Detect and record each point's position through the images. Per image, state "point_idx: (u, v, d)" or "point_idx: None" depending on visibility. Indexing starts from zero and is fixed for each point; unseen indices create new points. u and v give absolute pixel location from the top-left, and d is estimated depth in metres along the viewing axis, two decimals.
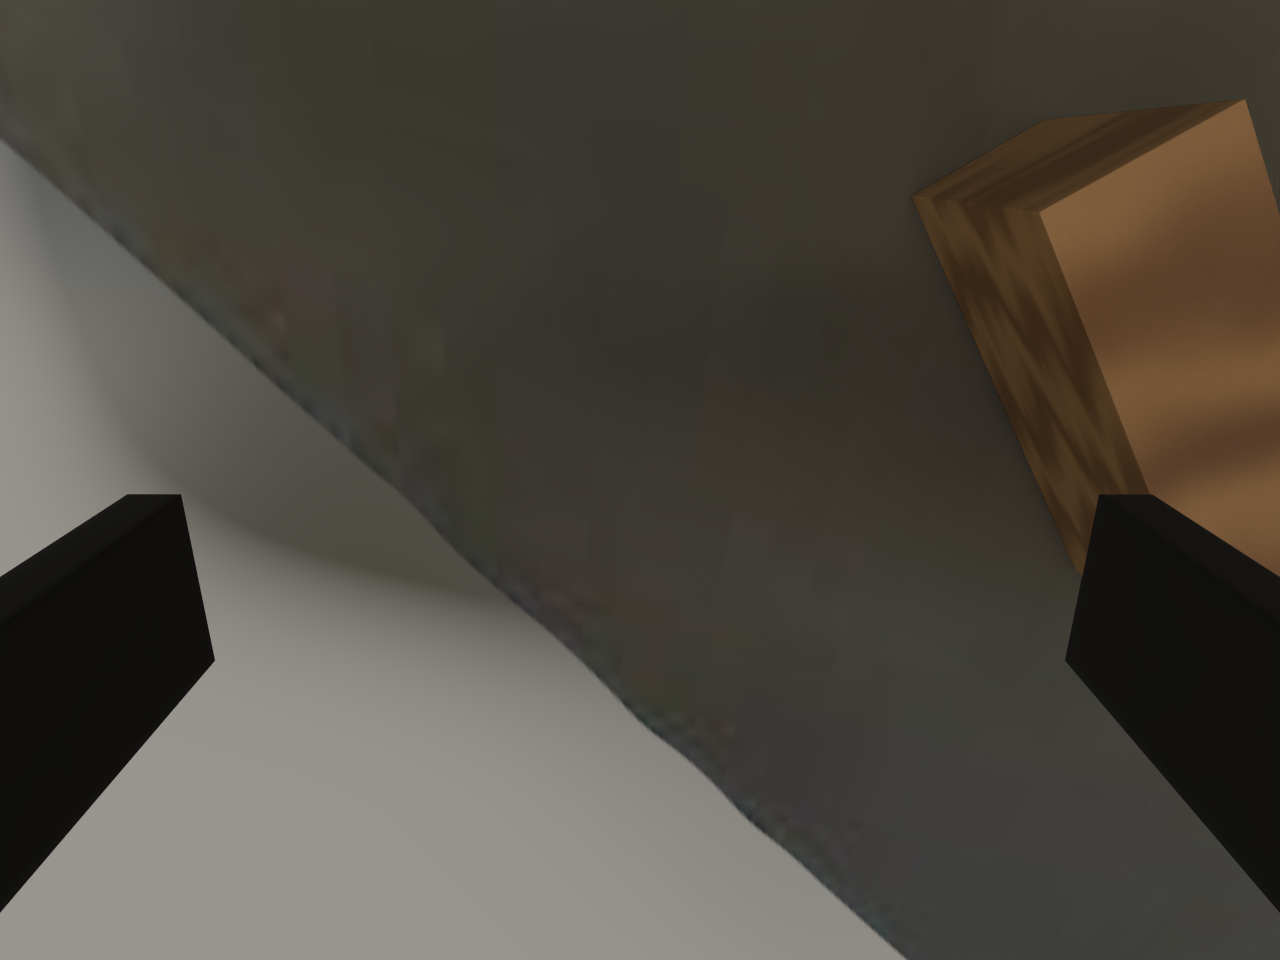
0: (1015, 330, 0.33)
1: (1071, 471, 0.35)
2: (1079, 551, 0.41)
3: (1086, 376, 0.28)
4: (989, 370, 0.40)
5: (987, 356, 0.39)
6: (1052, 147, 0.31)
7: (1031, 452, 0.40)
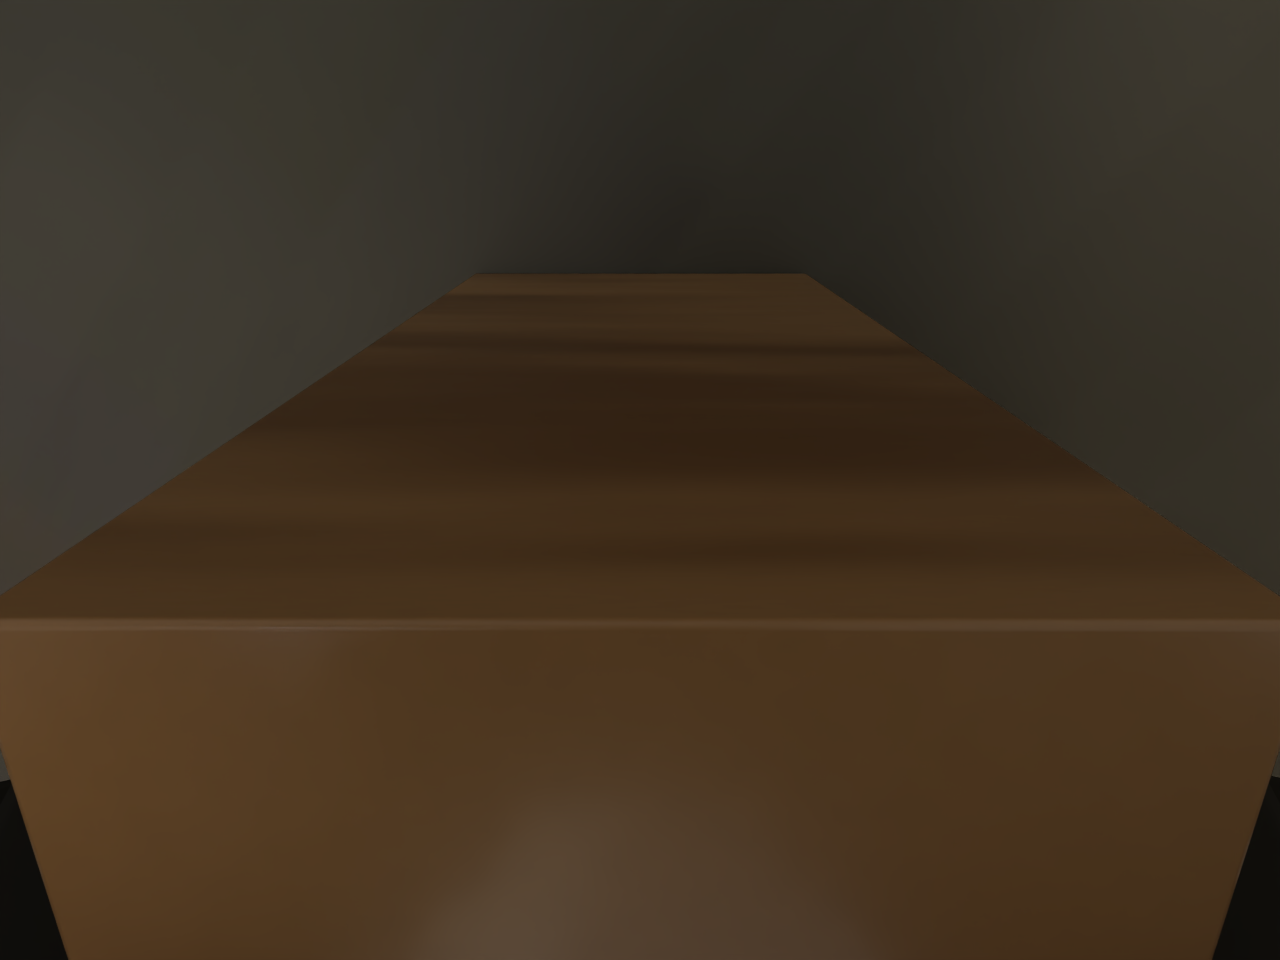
0: None
1: None
2: None
3: None
4: None
5: None
6: (695, 330, 0.10)
7: None
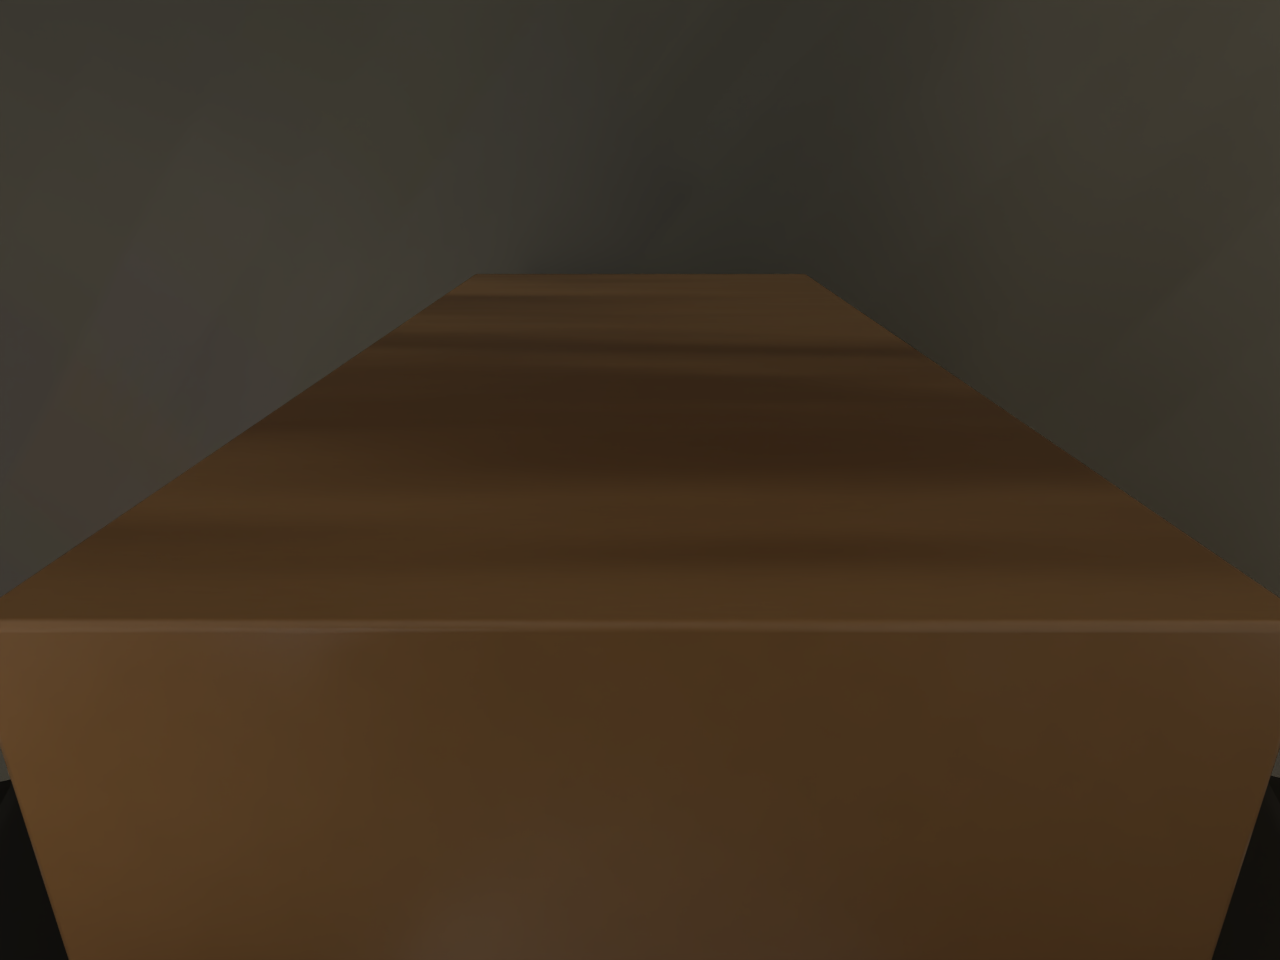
0: None
1: None
2: None
3: None
4: None
5: None
6: (695, 331, 0.10)
7: None
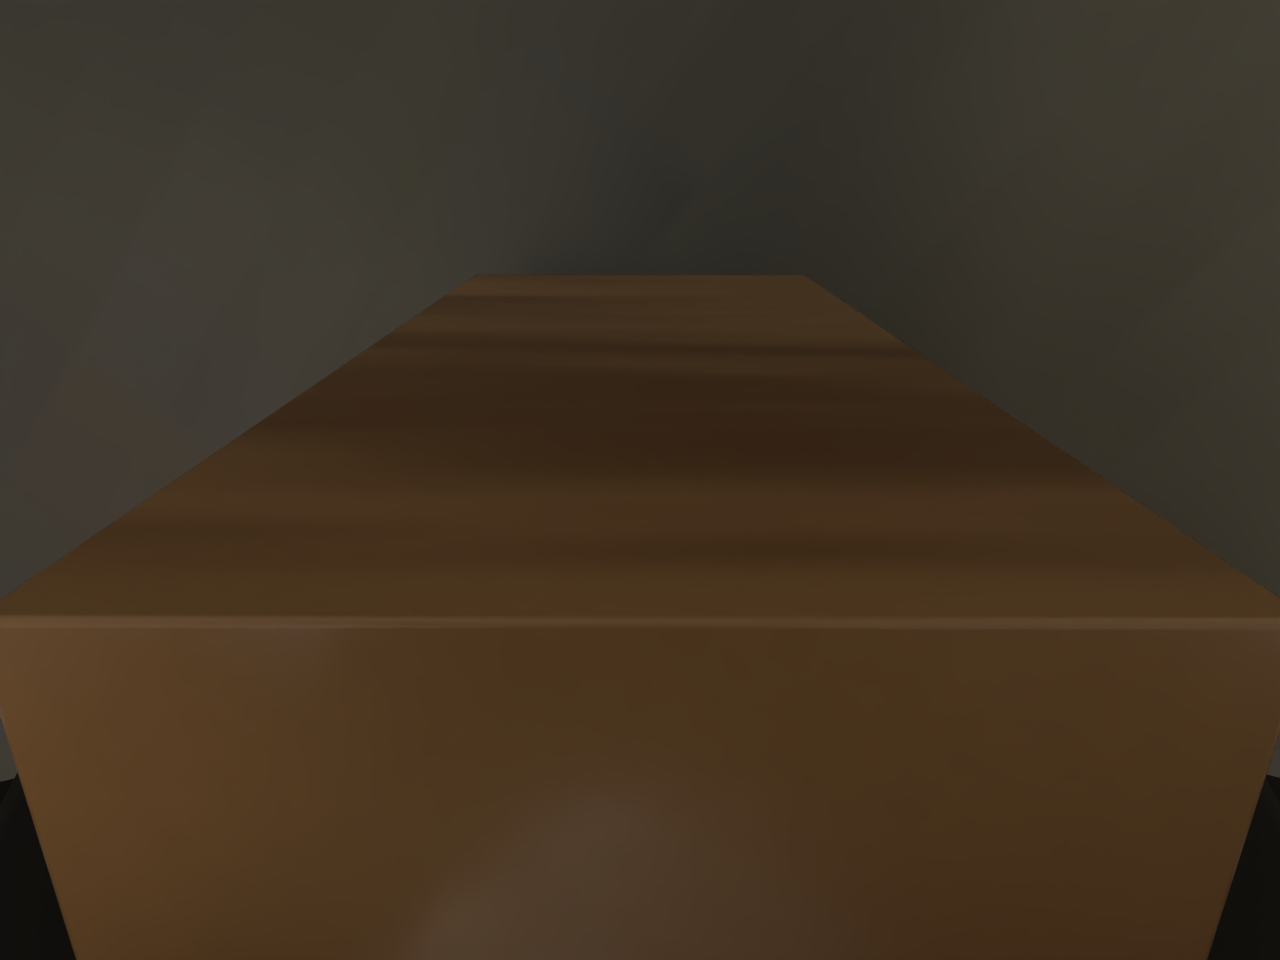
0: None
1: None
2: None
3: None
4: None
5: None
6: (695, 331, 0.10)
7: None
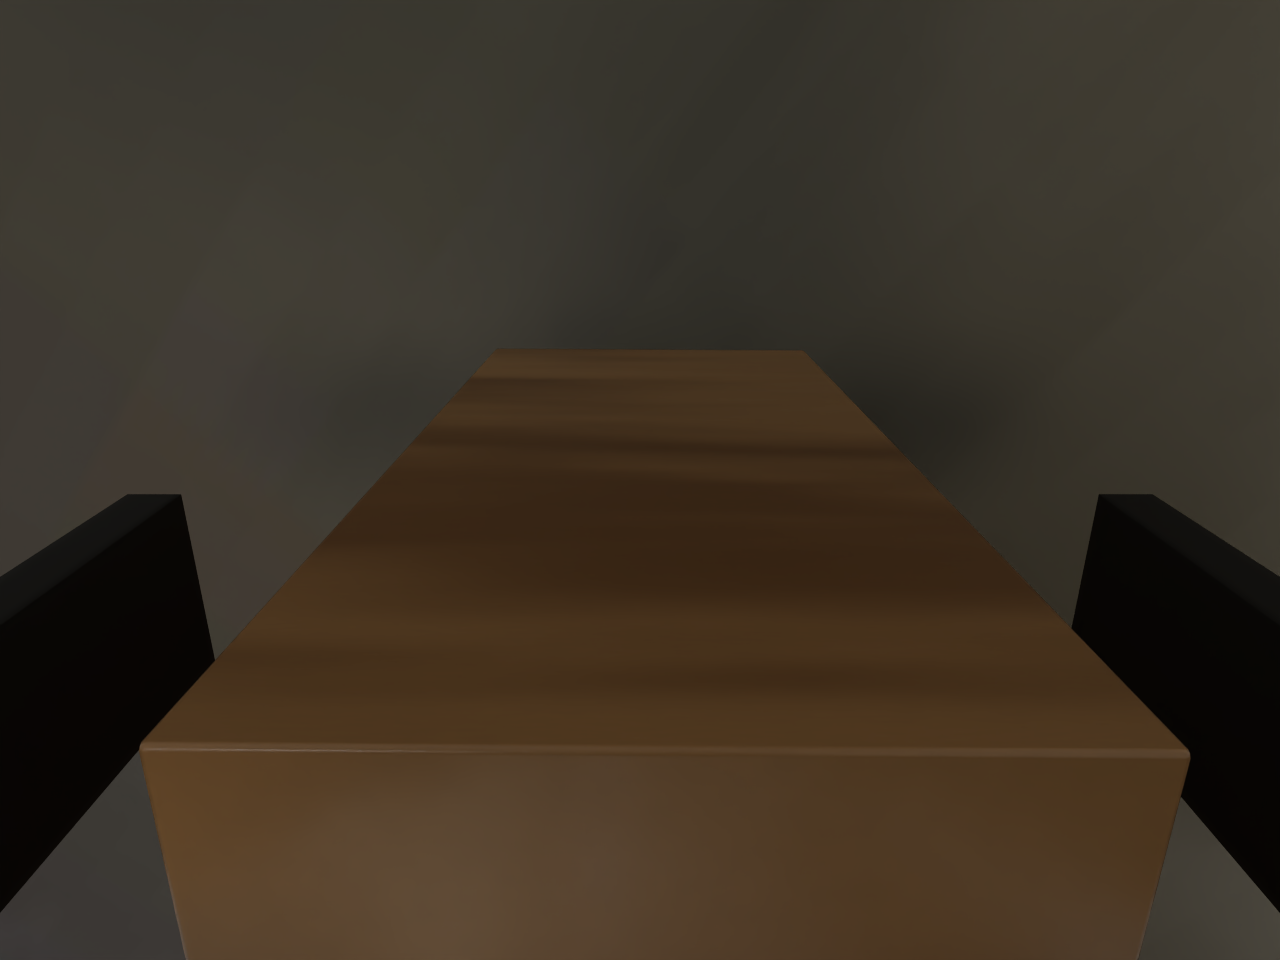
0: None
1: None
2: None
3: None
4: None
5: None
6: (701, 426, 0.12)
7: None
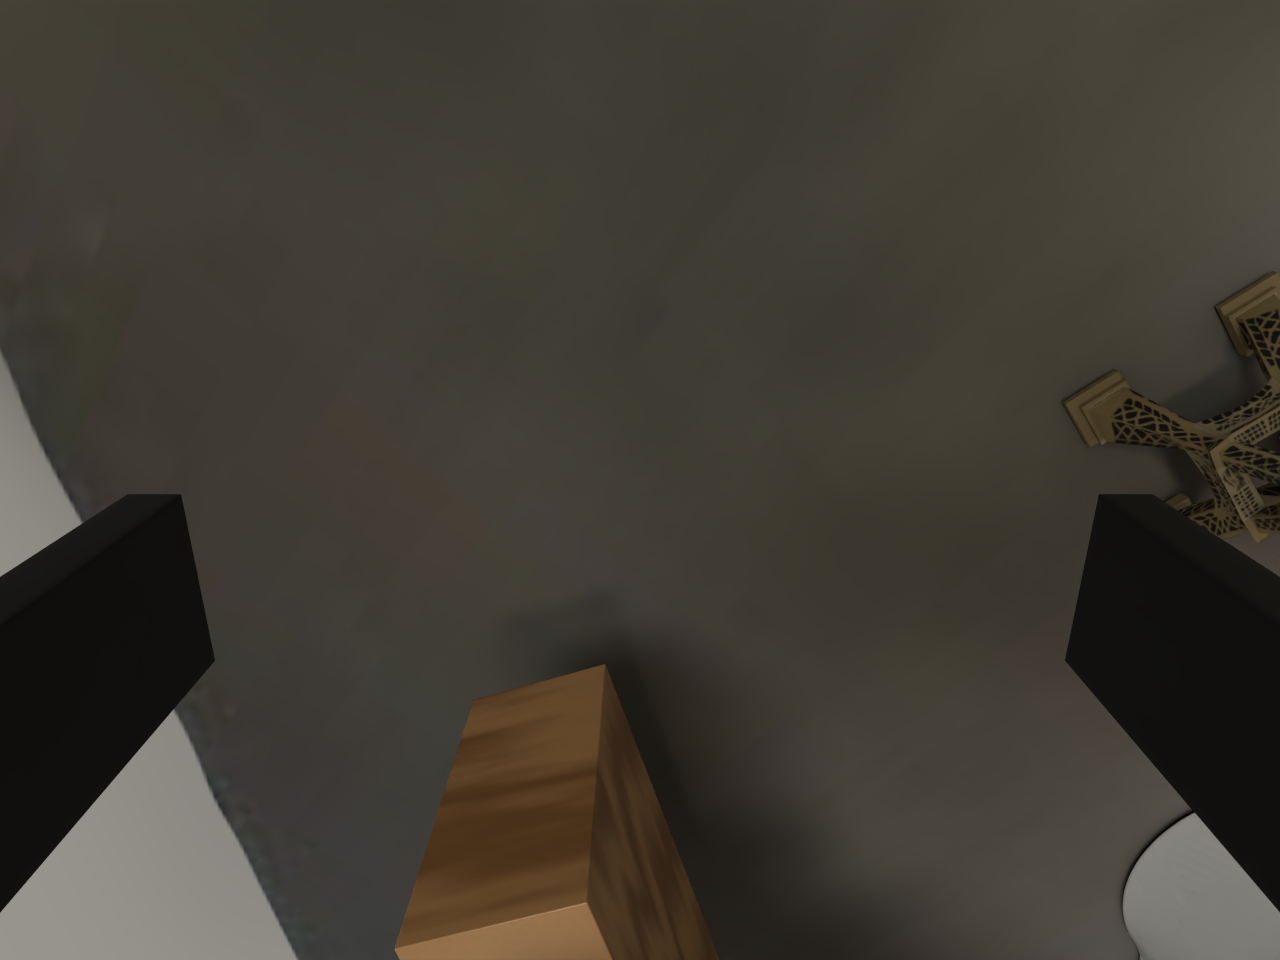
0: None
1: None
2: None
3: None
4: None
5: None
6: (537, 765, 0.32)
7: None
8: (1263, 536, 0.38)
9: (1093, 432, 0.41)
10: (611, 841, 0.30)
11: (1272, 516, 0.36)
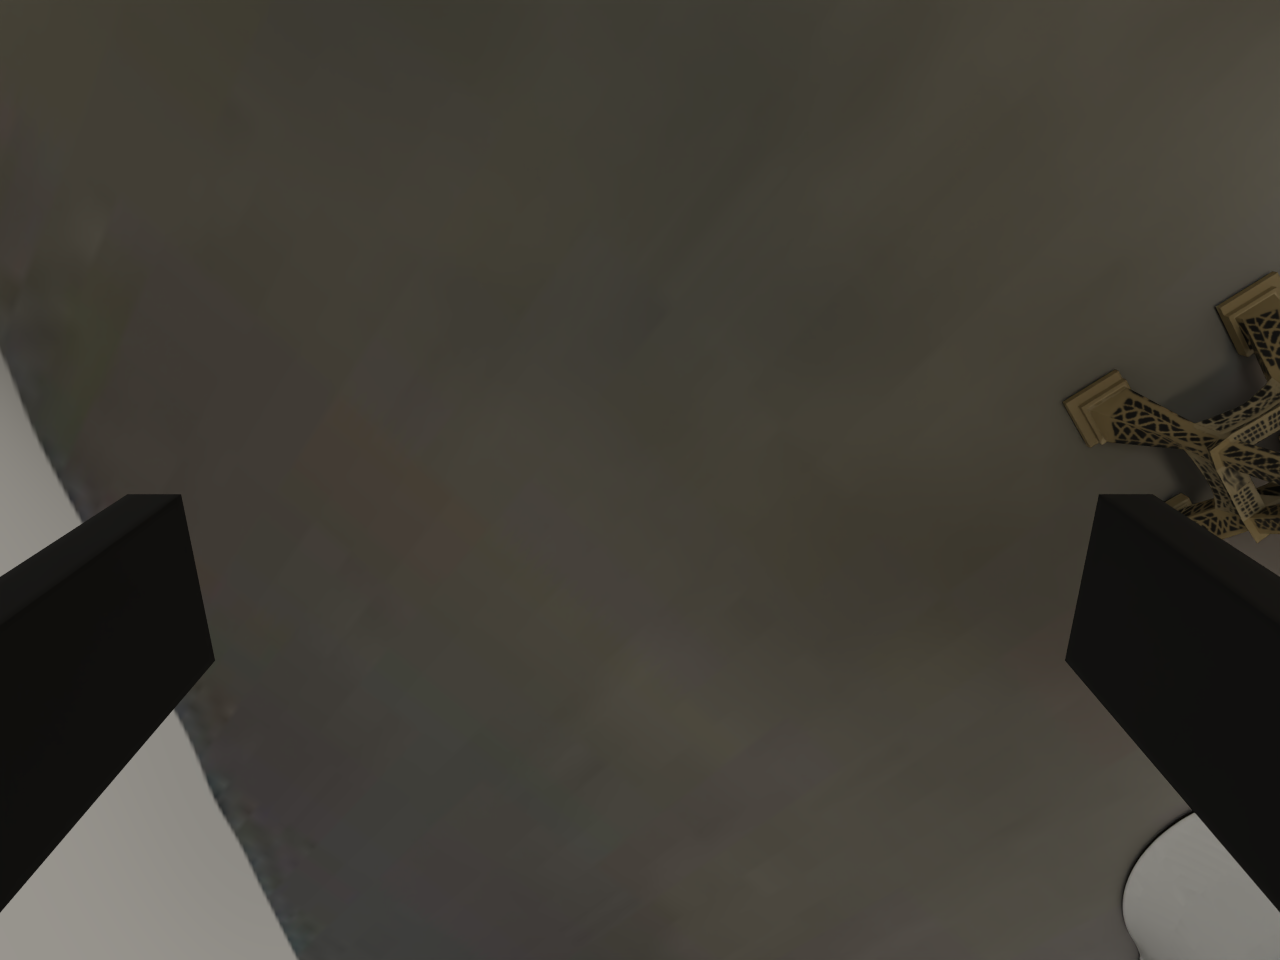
0: None
1: None
2: None
3: None
4: None
5: None
6: None
7: None
8: (1263, 536, 0.38)
9: (1093, 432, 0.41)
10: None
11: (1272, 516, 0.36)
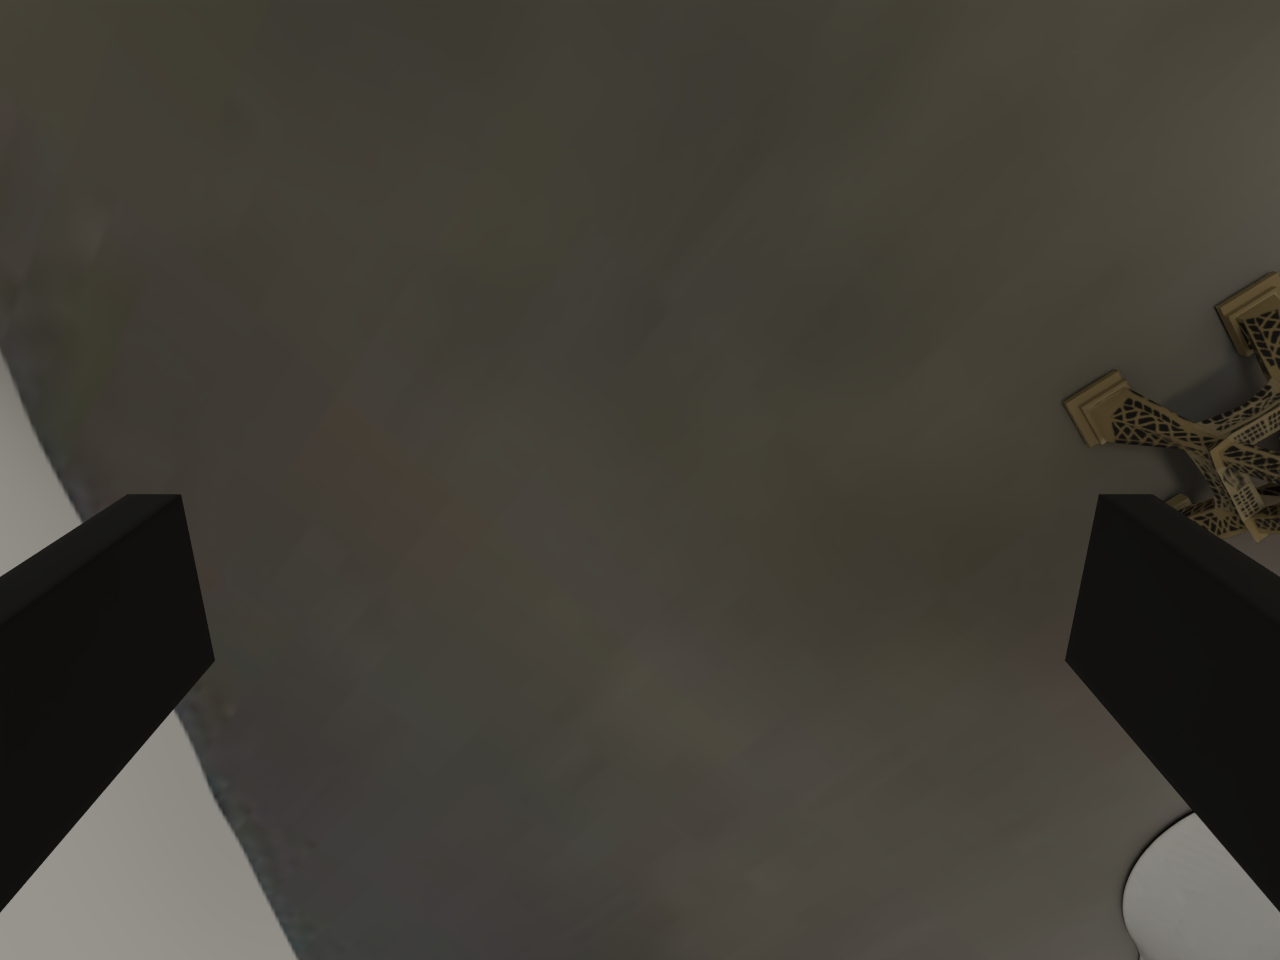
0: None
1: None
2: None
3: None
4: None
5: None
6: None
7: None
8: (1263, 536, 0.38)
9: (1093, 432, 0.41)
10: None
11: (1272, 516, 0.36)
